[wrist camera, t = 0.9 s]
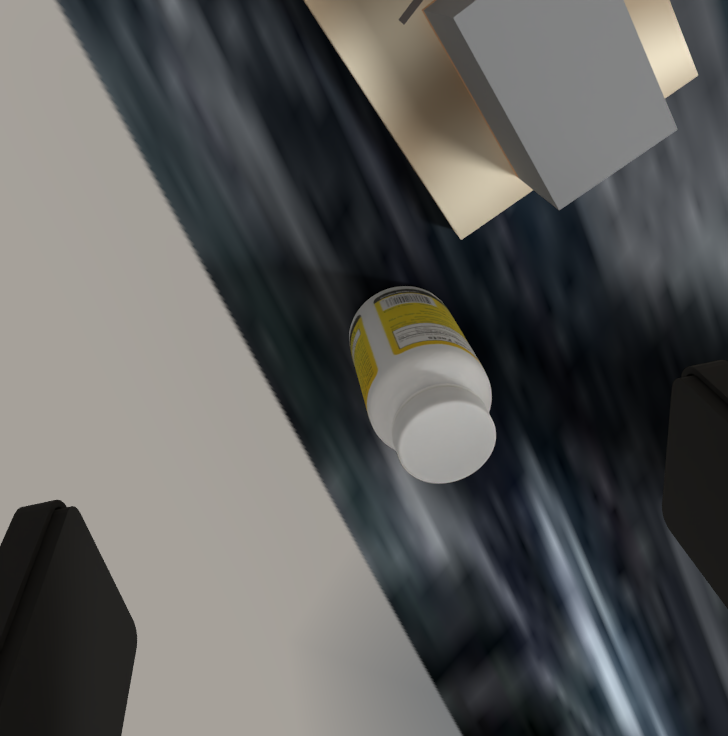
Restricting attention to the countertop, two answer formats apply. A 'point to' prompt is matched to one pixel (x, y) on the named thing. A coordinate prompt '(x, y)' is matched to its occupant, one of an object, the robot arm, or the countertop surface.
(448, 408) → the supplement bottle
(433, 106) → the birch board
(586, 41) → the block
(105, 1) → the countertop surface
